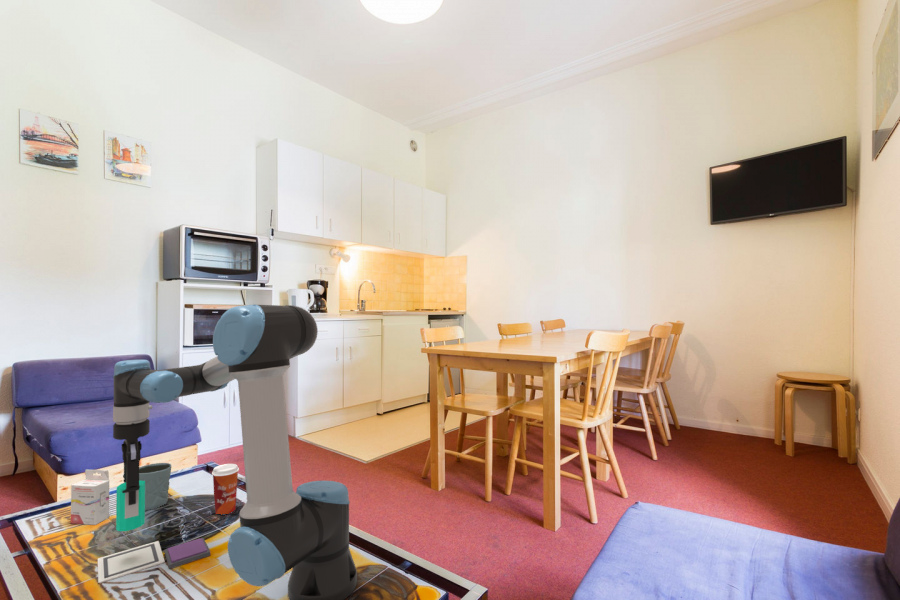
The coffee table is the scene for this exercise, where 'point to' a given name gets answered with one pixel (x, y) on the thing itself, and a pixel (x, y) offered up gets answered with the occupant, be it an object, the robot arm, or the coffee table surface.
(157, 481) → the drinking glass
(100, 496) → the ink cartridge box
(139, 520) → the candle
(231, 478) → the paper cup
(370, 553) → the coffee table surface
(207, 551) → the ink pad
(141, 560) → the marked card
